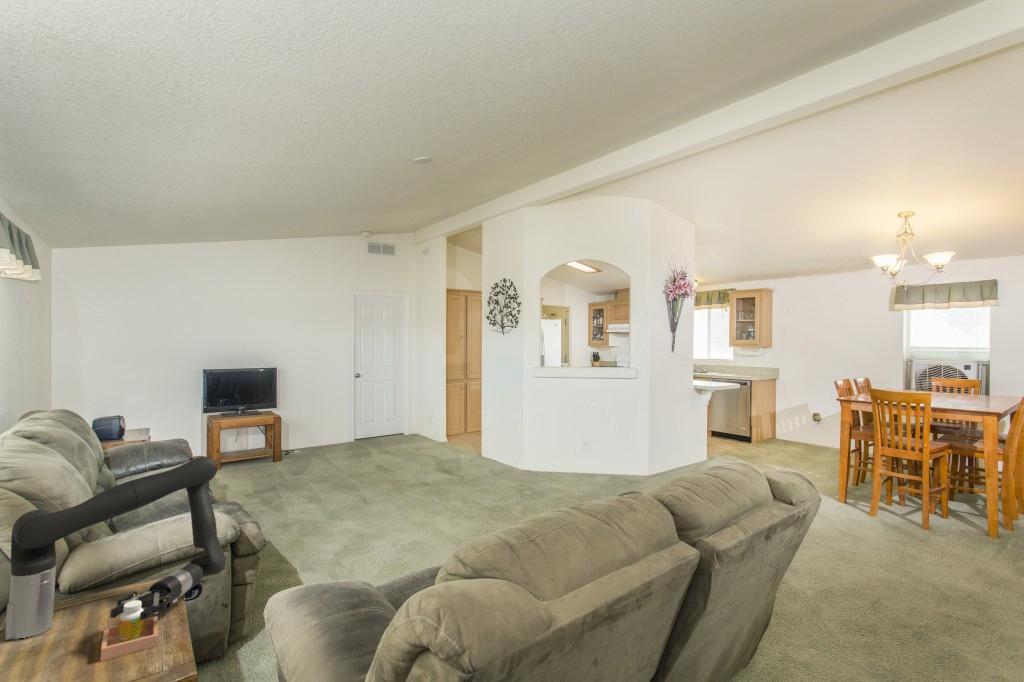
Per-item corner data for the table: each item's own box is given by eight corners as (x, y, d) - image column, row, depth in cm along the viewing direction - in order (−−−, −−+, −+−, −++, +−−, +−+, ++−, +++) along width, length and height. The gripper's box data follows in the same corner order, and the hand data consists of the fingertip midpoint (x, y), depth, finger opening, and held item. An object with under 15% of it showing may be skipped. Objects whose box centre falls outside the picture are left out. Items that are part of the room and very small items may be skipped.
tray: (100, 661, 127) (101, 649, 128) (103, 639, 137) (104, 628, 137) (157, 646, 135) (158, 635, 135) (156, 626, 144) (157, 615, 144)
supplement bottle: (129, 646, 133) (131, 609, 133) (113, 643, 134) (115, 607, 134) (147, 635, 138) (149, 600, 138) (132, 632, 139) (133, 597, 139)
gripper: (149, 573, 151) (102, 600, 135) (194, 576, 150) (152, 603, 134) (148, 598, 151) (100, 627, 135) (192, 601, 150) (150, 631, 134)
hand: (126, 615), depth 134 cm, fingers open, 8 cm apart
